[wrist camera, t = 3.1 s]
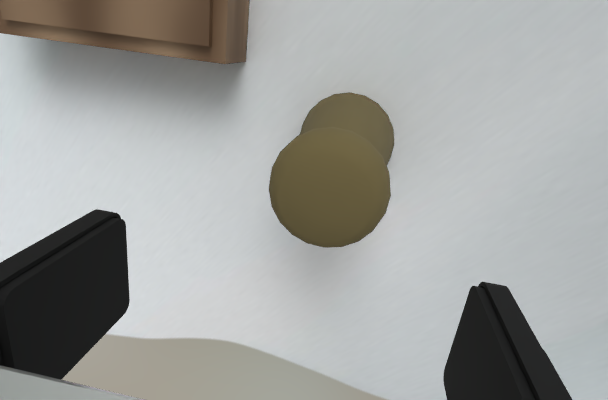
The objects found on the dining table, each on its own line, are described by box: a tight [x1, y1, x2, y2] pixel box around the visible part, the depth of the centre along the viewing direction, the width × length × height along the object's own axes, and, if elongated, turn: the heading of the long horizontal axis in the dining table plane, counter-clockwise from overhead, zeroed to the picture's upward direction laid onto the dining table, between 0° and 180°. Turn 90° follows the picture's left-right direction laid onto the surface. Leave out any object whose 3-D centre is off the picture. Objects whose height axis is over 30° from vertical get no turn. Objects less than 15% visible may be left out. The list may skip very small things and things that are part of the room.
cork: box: [269, 93, 394, 247], centre depth 21 cm, size 6×6×11 cm
